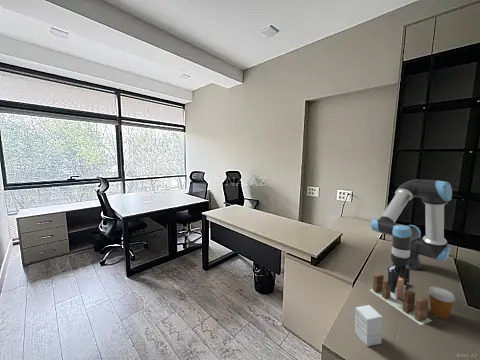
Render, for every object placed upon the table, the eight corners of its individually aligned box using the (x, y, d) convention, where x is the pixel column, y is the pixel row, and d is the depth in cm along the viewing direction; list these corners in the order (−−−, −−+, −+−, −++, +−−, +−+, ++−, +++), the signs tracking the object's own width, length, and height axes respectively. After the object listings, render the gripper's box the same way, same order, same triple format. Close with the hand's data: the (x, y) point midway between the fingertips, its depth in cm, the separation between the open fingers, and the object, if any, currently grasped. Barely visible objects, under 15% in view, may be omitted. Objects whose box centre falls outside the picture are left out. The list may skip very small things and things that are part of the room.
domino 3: (392, 296, 109) (393, 279, 108) (398, 294, 110) (400, 277, 109) (395, 299, 107) (397, 281, 106) (402, 297, 108) (404, 279, 107)
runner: (378, 287, 123) (379, 287, 123) (432, 321, 98) (432, 320, 98) (368, 290, 121) (368, 289, 121) (420, 325, 95) (420, 325, 95)
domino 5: (414, 318, 99) (415, 299, 98) (421, 316, 100) (423, 297, 99) (419, 321, 97) (420, 302, 96) (426, 319, 99) (428, 299, 97)
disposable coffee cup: (456, 325, 95) (458, 301, 94) (429, 317, 100) (431, 294, 99) (449, 311, 103) (451, 289, 102) (424, 305, 108) (426, 283, 107)
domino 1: (372, 290, 120) (373, 275, 119) (379, 289, 121) (380, 273, 120) (376, 293, 118) (377, 276, 117) (382, 291, 119) (383, 275, 118)
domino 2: (381, 296, 115) (382, 280, 114) (388, 294, 116) (389, 278, 115) (385, 299, 113) (386, 282, 112) (392, 297, 114) (393, 280, 113)
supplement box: (368, 329, 94) (369, 304, 92) (381, 344, 86) (383, 316, 85) (353, 332, 92) (354, 306, 91) (366, 347, 85) (367, 319, 84)
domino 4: (402, 310, 104) (403, 292, 103) (409, 308, 106) (411, 290, 105) (406, 313, 102) (408, 295, 101) (414, 311, 104) (415, 292, 103)
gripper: (405, 249, 112) (402, 288, 115) (380, 254, 107) (378, 295, 110) (420, 255, 105) (417, 297, 108) (394, 261, 100) (392, 305, 102)
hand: (397, 296), depth 109 cm, fingers closed on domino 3, 5 cm apart
